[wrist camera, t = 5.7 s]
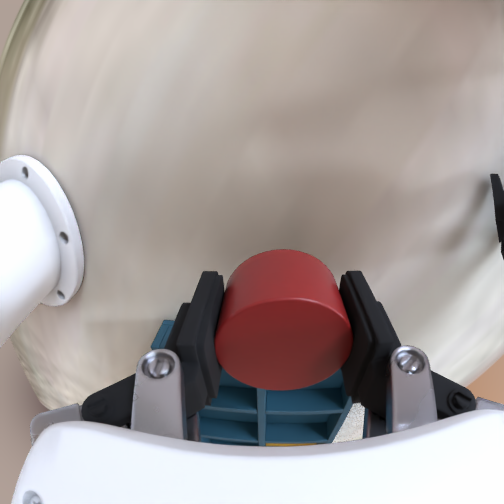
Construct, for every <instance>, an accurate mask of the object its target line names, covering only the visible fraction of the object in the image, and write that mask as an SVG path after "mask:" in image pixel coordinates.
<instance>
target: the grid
mask: <svg viewBox="0 0 504 504" xmlns="http://www.w3.org/2000/svg"><path fill="white" fill-rule="evenodd" d="M174 322H175V321H171V320H164V321H163V323H162V325H161V327H160V329H159V331H158V333H157V335H156V337H155V339H154V341H153V343H152V345H151V349H152V350H156V349H164V347H165V345H166V342H167V339H168V337H169V334H170V332H171V329H172V327H173V324H174ZM352 405H353V404H352V400H351V396H347V395H346V391H345V386H344V381H343V377H342V372H341V368H340V369H339V370H338V371H337V372H335V373H334V374H333V375H331V376H330V377H328V378H327V379H325V380H323V381H321V382H319V383H316V384H314V385H311V386H308V387H304V388H299V389H294V390H266V389H261V388H256V387H253V386H250V385H247V384H244V383H242V382H240V381H238V380H237V379H235V378H233V377H232V376H231V375H229V374H228V373H227V372H226V371H225V370H224V369H223V368H222V371H221V377H220V383H219V389H218V395H217V398H212V401H211V406H208V405H205V408H203V409H202V410H200V411H198V415H199V425H200V434H201V442H203V443H212V444H222V445H236V446H265V447H277V446H305V445H319V444H329V443H332V442H333V440H334V438H335V436H336V435H337V433H338V431H339V429H340V428H341V426H342V424H343V422H344V420H345V419H346V417H347V415H348V413H349V411H350V409H351V407H352Z"/></svg>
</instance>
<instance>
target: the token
mask: <svg viewBox="0 0 504 504" xmlns="http://www.w3.org/2000/svg"><path fill="white" fill-rule="evenodd" d="M352 346H353V332H352V328H351V325H350V322H349V319H348V316H347V313H346V310H345V307H344V304H343V301H342V298H341V295H340V292H339V289H338V287H337V284H336V281H335V279H334V276H333V274H332V273H331V271H330V270H329V269H328V268H327V266H326V265H325V264H323V263H322V262H321V261H320V260H318V259H317V258H315V257H313V256H311V255H309V254H307V253H304V252H300V251H296V250H288V249H279V250H271V251H266V252H263V253H259V254H257V255H255V256H253V257H251V258H249V259H248V260H246V261H244V262H243V263H242V264H241V265H239V266H238V268H237V269H236V270H235V271H234V272H233V274H232V275H231V276H230V278H229V280H228V283H227V286H226V290H225V294H224V298H223V303H222V307H221V311H220V316H219V320H218V324H217V329H216V333H215V338H214V347H215V352H216V357H217V360H218V362H219V364H220V365H221V366H222V368H223V369H224V370H225V371H226V372H227V373H228V374H229V375H231V376H232V377H233V378H235V379H237V380H238V381H240V382H242V383H244V384H247V385H250V386H253V387H256V388H261V389H266V390H294V389H299V388H304V387H308V386H311V385H314V384H316V383H319V382H321V381H323V380H325V379H327V378H328V377H330V376H331V375H333V374H334V373H335V372H337V371H338V370H339V369H340V368H341V367H342V366H343V364H344V363H345V362H346V360H347V359H348V357H349V355H350V352H351V349H352Z"/></svg>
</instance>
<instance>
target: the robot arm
mask: <svg viewBox="0 0 504 504" xmlns="http://www.w3.org/2000/svg"><path fill="white" fill-rule="evenodd" d="M83 275H84V254H83V245H82V240H81V236H80V232H79V228H78V225H77V222H76V219H75V216H74V213H73V210H72V208H71V206H70V204H69V202H68V199H67V197H66V195H65V193H64V192H63V190H62V188H61V187H60V185H59V183H58V182H57V180H56V179H55V178H54V176H53V175H52V174H51V173H50V172H49V170H48V169H47V168H46V167H45V166H44V165H42V164H41V163H40V162H39V161H38V160H36V159H34V158H32V157H30V156H25V155H17V156H13V157H10V158H7V159H5V160H3V161H1V162H0V347H1V346H2V345H3V344H4V343H5V341H6V340H7V339H8V338H9V337H10V335H11V334H12V333H13V332H14V331H15V330H16V328H17V327H18V326H19V325H20V324H21V323H22V322H23V320H24V319H25V318H26V317H27V316H28V315H29V314H30V313H31V312H32V311H33V309H34V308H35V307H36V306H37V305H38V304H39V303H41V304H44V305H47V306H55V307H56V306H61V305H64V304H65V303H67V302H68V301H70V300H71V298H72V297H73V296H74V295H75V294H76V293H77V292H78V290H79V288H80V286H81V284H82V279H83ZM339 292H340V295H341V298H342V301H343V304H344V307H345V310H346V313H347V316H348V319H349V322H350V325H351V328H352V332H353V346H352V349H351V352H350V355H349V357H348V359H347V360H346V362H345V363H344V364H343V366H342V367H341V372H342V377H343V381H344V386H345V391H346V395H347V396H351V400H352V404H353V403H360V402H361V405H362V406H364V407H365V414H364V426H363V437H362V439H359V440H353V441H346V442H338V443H329V444H319V445H305V446H277V447H265V446H236V445H222V444H212V443H203V442H201V434H200V425H199V415H198V411H200V410H202V409H203V408H205V405H208V406H211V401H212V398H217V395H218V389H219V383H220V377H221V371H222V366H221V365H220V364H219V362H218V360H217V357H216V352H215V347H214V338H215V333H216V329H217V324H218V320H219V316H220V311H221V307H222V303H223V298H224V294H225V292H224V282H223V276H222V275H218V272H217V271H203V273H202V275H201V278H200V280H199V283H198V285H197V288H196V291H195V293H194V296H193V299H192V301H191V303H183V304H182V305H181V307H180V310H179V312H178V315H177V317H176V319H175V322H174V324H173V327H172V329H171V332H170V334H169V337H168V339H167V342H166V345H165V347H164V349H156V350H152V351H149V352H147V353H146V354H144V355H143V356H142V357H141V358H140V360H139V361H138V364H137V369H136V373H135V374H133V375H131V376H129V377H127V378H125V379H123V380H121V381H119V382H117V383H115V384H113V385H111V386H109V387H106V388H104V389H102V390H100V391H98V392H96V393H93V394H92V395H90V396H89V397H87V399H86V400H85V401H84V403H83V405H81V406H79V404H78V403H77V404H73V405H70V406H66V407H62V408H59V409H55V410H51V411H47V412H43V413H40V414H37V415H36V416H35V417H34V418H33V419H32V421H31V424H30V432H31V442H32V448H31V450H30V452H29V454H28V456H27V458H26V461H25V463H24V465H23V468H22V470H21V473H20V475H19V478H18V481H17V484H16V488H15V491H14V495H13V498H12V502H11V504H504V405H503V404H500V403H496V402H493V401H490V400H487V399H483V398H480V397H477V399H475V398H474V396H473V394H472V393H471V391H469V390H468V389H467V388H465V387H463V386H461V385H459V384H457V383H455V382H453V381H451V380H449V379H447V378H445V377H443V376H441V375H439V374H437V373H435V372H433V371H431V369H430V364H429V360H428V357H427V356H426V354H425V353H424V352H423V351H421V350H420V349H419V348H416V347H414V346H409V345H407V346H401V343H400V341H399V339H398V337H397V335H396V332H395V330H394V328H393V326H392V324H391V322H390V320H389V318H388V316H387V314H386V312H385V310H384V308H383V306H382V304H381V302H379V301H376V299H375V297H374V295H373V293H372V291H371V289H370V287H369V285H368V283H367V282H366V280H365V278H364V276H363V274H362V272H361V271H347V272H346V275H342V276H341V282H340V288H339Z"/></svg>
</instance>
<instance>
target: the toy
mask: <svg viewBox="0 0 504 504" xmlns="http://www.w3.org/2000/svg"><path fill="white" fill-rule="evenodd" d="M490 177H491V183H492V190H493V197H494V206H495V218H496V225H497V231H498V237H499V243H500V242H501V253H502V256H503V259H504V190H503V186H502V183H501V181H500V178H499V176H498V174H490Z"/></svg>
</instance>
